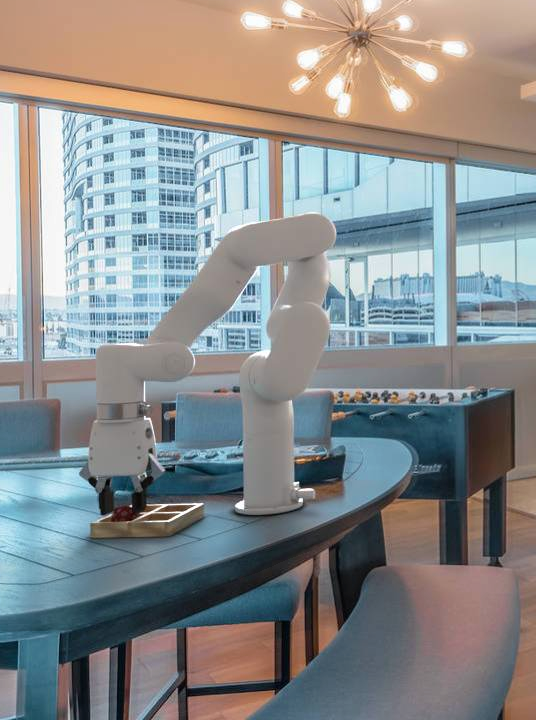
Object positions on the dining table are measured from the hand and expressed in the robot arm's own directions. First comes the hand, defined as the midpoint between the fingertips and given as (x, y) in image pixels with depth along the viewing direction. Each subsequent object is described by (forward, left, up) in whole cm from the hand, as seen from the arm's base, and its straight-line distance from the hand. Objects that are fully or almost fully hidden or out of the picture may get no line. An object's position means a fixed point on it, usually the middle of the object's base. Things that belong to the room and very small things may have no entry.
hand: (123, 512), depth 144 cm
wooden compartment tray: (-3, -3, -4) cm, 6 cm away
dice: (0, 0, -3) cm, 3 cm away
